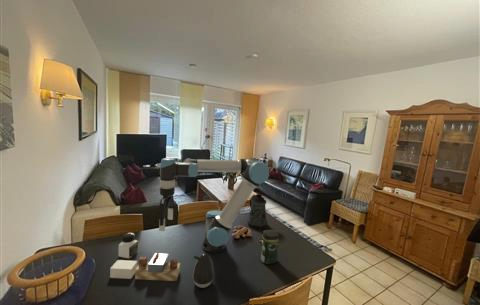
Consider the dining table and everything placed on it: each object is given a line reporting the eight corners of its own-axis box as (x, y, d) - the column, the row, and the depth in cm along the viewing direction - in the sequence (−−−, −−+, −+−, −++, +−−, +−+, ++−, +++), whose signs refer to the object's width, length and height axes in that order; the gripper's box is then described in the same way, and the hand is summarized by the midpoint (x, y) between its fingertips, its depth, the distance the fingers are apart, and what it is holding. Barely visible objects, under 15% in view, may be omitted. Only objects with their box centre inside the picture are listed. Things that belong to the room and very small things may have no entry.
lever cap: (168, 260, 108) (168, 251, 108) (162, 272, 99) (162, 262, 99) (155, 260, 108) (155, 250, 108) (147, 271, 99) (148, 261, 99)
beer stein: (261, 231, 158) (264, 200, 155) (240, 224, 168) (242, 194, 165) (270, 224, 172) (273, 195, 169) (250, 217, 182) (252, 190, 179)
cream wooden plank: (179, 272, 108) (180, 255, 107) (176, 280, 101) (177, 263, 100) (141, 270, 107) (141, 253, 106) (135, 279, 101) (135, 261, 100)
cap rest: (137, 269, 107) (137, 260, 106) (131, 278, 101) (131, 269, 100) (117, 268, 107) (117, 259, 106) (110, 277, 100) (110, 268, 100)
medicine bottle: (129, 259, 115) (129, 238, 114) (118, 256, 117) (118, 236, 115) (137, 251, 122) (138, 232, 121) (127, 249, 124) (127, 230, 122)
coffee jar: (272, 255, 128) (275, 227, 126) (278, 263, 121) (281, 233, 119) (258, 257, 126) (261, 228, 124) (263, 265, 118) (266, 234, 116)
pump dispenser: (193, 276, 106) (194, 248, 104) (213, 276, 107) (215, 248, 105) (190, 291, 96) (191, 260, 94) (212, 291, 97) (214, 261, 95)
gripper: (167, 180, 123) (167, 214, 125) (150, 193, 98) (150, 235, 101) (180, 181, 123) (179, 215, 126) (166, 194, 98) (165, 236, 101)
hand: (166, 224), depth 113 cm, fingers open, 13 cm apart
